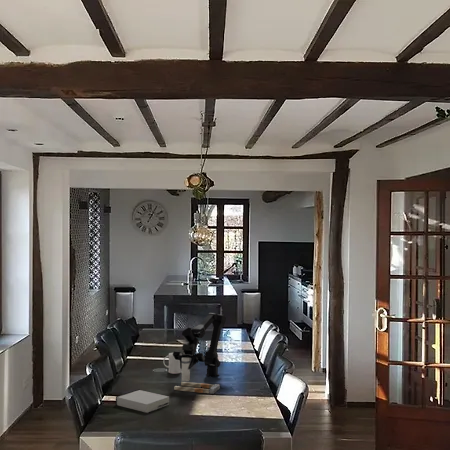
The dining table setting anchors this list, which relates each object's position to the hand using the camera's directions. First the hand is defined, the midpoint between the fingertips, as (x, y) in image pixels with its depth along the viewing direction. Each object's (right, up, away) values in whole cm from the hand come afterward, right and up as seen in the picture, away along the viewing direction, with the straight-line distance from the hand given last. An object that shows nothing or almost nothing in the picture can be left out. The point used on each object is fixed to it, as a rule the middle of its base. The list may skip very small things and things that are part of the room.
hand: (184, 368), depth 345 cm
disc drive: (-21, -12, -30) cm, 39 cm away
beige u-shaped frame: (+7, -12, -1) cm, 14 cm away
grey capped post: (0, -7, +1) cm, 7 cm away
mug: (-11, -12, +40) cm, 43 cm away
